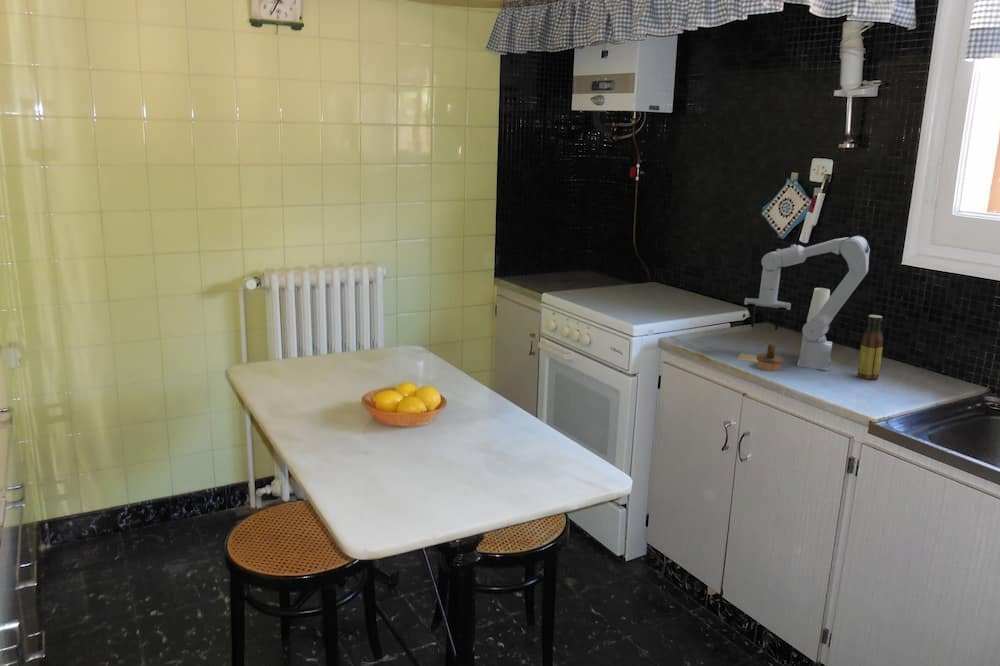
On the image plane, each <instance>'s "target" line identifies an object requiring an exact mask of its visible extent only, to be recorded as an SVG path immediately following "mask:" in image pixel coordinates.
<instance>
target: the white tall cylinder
mask: <svg viewBox="0 0 1000 666" xmlns="http://www.w3.org/2000/svg"><path fill="white" fill-rule="evenodd" d="M830 296H831V290H830V289H829V288H825V287H815V288H814V289H813V295H812V298H811V302H810V306H809V311H808V314H807V319H806V323H808V322H810V321H811V320H812V319H813V318H814V317H815V315H816V314H817V313H818V312H819V311H820V310H821V308H822V307H823V306H824V304H825V303H826V302H827V300H828V299H829V298H830Z"/></svg>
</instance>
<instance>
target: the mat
mask: <svg viewBox="0 0 1000 666" xmlns="http://www.w3.org/2000/svg"><path fill="white" fill-rule="evenodd" d="M756 356H757V354H755V355H754V354H748V353H747V354H746V353H741V352H740V353H739V355H738V356H737V359H736V360H739V361H746V362H752V363H758V360H757V359H756Z"/></svg>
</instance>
